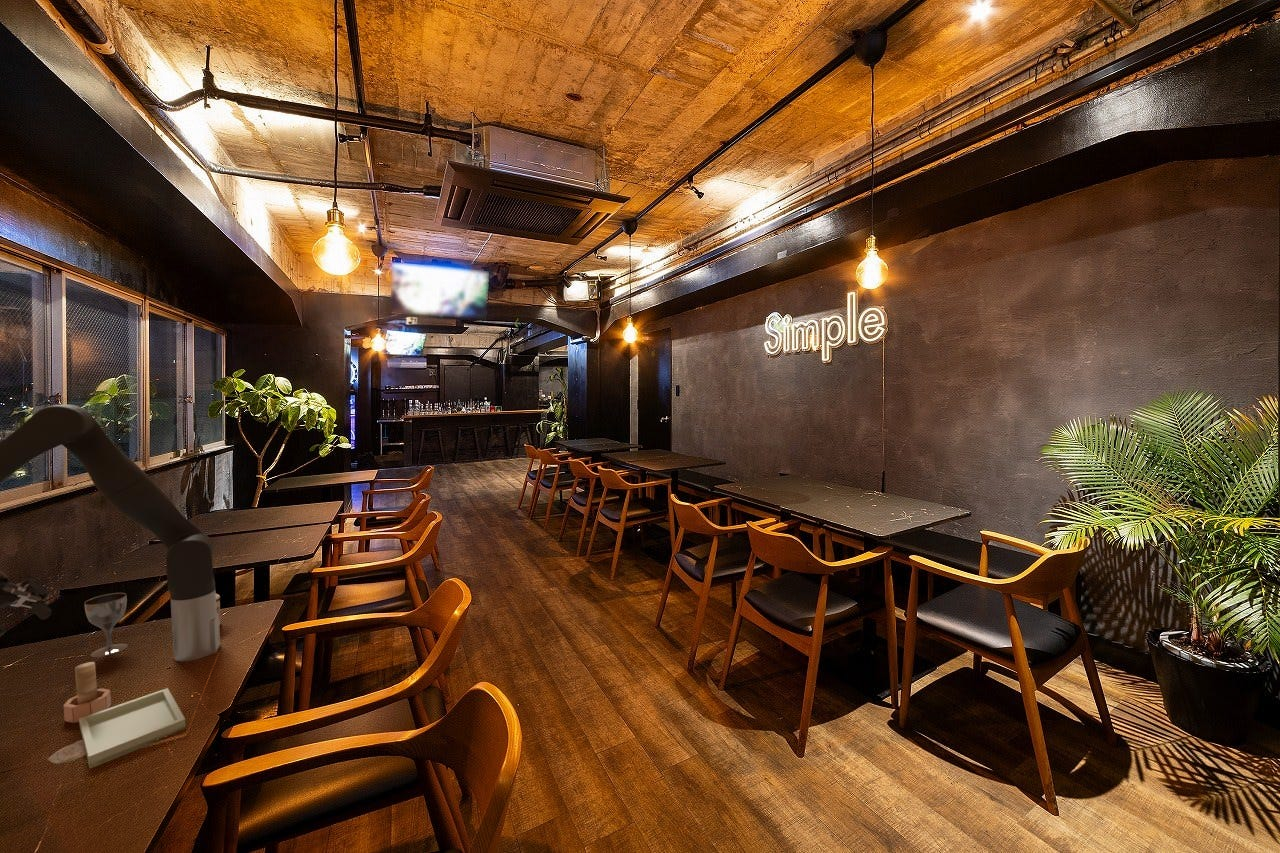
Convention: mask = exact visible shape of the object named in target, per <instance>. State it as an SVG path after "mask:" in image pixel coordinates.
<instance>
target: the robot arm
mask: <svg viewBox="0 0 1280 853" xmlns="http://www.w3.org/2000/svg"><path fill="white" fill-rule="evenodd" d="M61 445H62V446H63V447H64V448H65V449H66V450H67V451H69V452H70V453H71V454H72V455H73V456H74V457H75V458H76V459H78V460H79V462H80V463H81V464H82V465H83V467H84V468H85V470H86V471H87V472H86V473H88V475H89V477H90V479H91V481H92V482H93V485H94V487H96V489H97V490H98V492H99V493H100V494H101V495H102V496H103V498H104V499H105V500H107V501H108V502H109V504H111V505H112V506H113V507H114V508H115V509H116V510H117V511H118V512H119V513H120V514H122V515H123V516H125V517H126V518H128V519H130V520H131V521H133V522H135V523H136V524H139V525H140V526H142V527H143V528H146V529H147V530H148V531H149V532H151V533H152V534H153V535H155V537H156V538H158V540H159V541H160V542H161V543H162V544H163V546H164V548H166V549H167V552H166V555H165V571H166V581H167V590H168V591H169V596H170V597H169V598H170V612H171V613H170V614H171V630H172V648H173V659H174V660H175V661H177V662H189V661H194V660H199V659H202V658H205V657H208V656H211V655H213V654H217V653H218V650H219V648H220V645H221V636H220V632H221V631H220V625H219V614H218V613H217V610H216V594H217V593H216V581H215V577H214V566H213V554H214V552H215V545H214V542H213V540H212V539H211V537H209V535H208V534H206V533H204V532H203V531H202V530H201V529H200V528H199V527H197V526H196V525H194V523H192V521H190V520H189V519H188V518H186V517H185V516H184V515H183V514H182V513H181V512H180V510H179V509H178V508H177V507H176V505H175V504H174V502H173V501H172V500H171V499H170V498H169V497H168V496H167V495H166V493H165V492H164V491H163V490H162V489H161V488H160V487H159V486H158V485H157V483H156V482H155V481H154V480H153V479H151V477H150V476H149V475H148V474H147V473H146V472H144V470H142V469H141V468H140V467H139V465H138V464H136V463H135V461H133V460H132V459H131V458H130V457H128V456H127V454H125V452H123V451H122V450H121V449H120V448H119V447H118V446H116V444H115V443H114V442H113V441H112V440H111V439H110V437H109V436H108V435H107V433H106V432H105V431H104V430H103V429H102V426H100V424H99V423H98V422H97V419H96V418H94V416H93V414H91V413H90V412H89V411H88V410H87V409H85V408H83V407H81V406H78V405H75V404H67V403H66V404H55V405H49V406H45V407H43V408H40V409H38V410H37V411H36V412H35V413H34V414H32V416H31V417H29V418H28V419H27V420H26V421H25V422H23V424H21V425H20V426H19V427H18V428H17V429H16V430H15V431H13V432H12V433H11V434H10V435H8V436H7V437H5V438H4V439H3V440H1V441H0V485H1V484H2V483H3V482H5V481H6V480H7V479H8V478H9V477H11V476H12V475H13V474H14V473H15V472H17V471H18V470H19V469H21V468H22V467H23V466H25V465H26V464H28V463H29V462H30V461H32V460H34V459H35V458H37V457H38V456H40V455H43V454H44V453H46V452H48V451H50V450H53V449H55V448H57V447H59V446H61ZM49 595H50V593H49V592H48V591H47V590H46V589H45V588H43V587H42V586H40V585H39V584H37V582H35V581H34V580H33V579H31V578H24V579H23V581H20V582H18V583H16V584H15V583H13V582H9V579H8V576H7V575H6V574H5V573H4V572H3V571H2V570H1V569H0V609H5V608H8V607H14V608H19V607H24V608H28V609H30V611H31V612H32V613H33V614H35V615H36V616H37V617H38V618H39V619H40V620H42V621H43V620H45V619H48V618H49V617H50V616H51V615H52V612H53V611H52V609H51V608H50V607H49V606H48V605H47V604H46V603H45V602H44V600H45V599H46V598H47V597H48V596H49ZM18 598H19V599H18ZM6 632H7V629H6V628H5V627H4V626H3V625H2V624H0V637H2V636H3V635H4V634H5V633H6Z"/></svg>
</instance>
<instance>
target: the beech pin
mask: <svg viewBox="0 0 1280 853" xmlns="http://www.w3.org/2000/svg"><path fill="white" fill-rule="evenodd" d="M74 674H75V689H76V696H77V703H78V705H79V704H84V703H88V702H91V701H93V700H95V699H97V698H98V697H97V689H98V687H97V686H98V684H97V673H96V663H95V661H88V662H85V663H81V664H79V665H76V667H75V668H74Z"/></svg>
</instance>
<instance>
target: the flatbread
mask: <svg viewBox="0 0 1280 853" xmlns="http://www.w3.org/2000/svg"><path fill="white" fill-rule="evenodd" d="M84 756H87V755H86V750H85V746H84V742H83V739H80V740H77V741H76V742H74V743H72V744H69V745H66V746H64V747H63V748H60V749H59V750H57V751H55V752H54V753H53V754H52V755H51V756H49V757H48V758H47V759H46V760H47V761H48V762H51V763H52V764H55V765H60V764H64V763H68V762H71V761H75V760H77V759H79V758H82V757H84Z"/></svg>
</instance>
